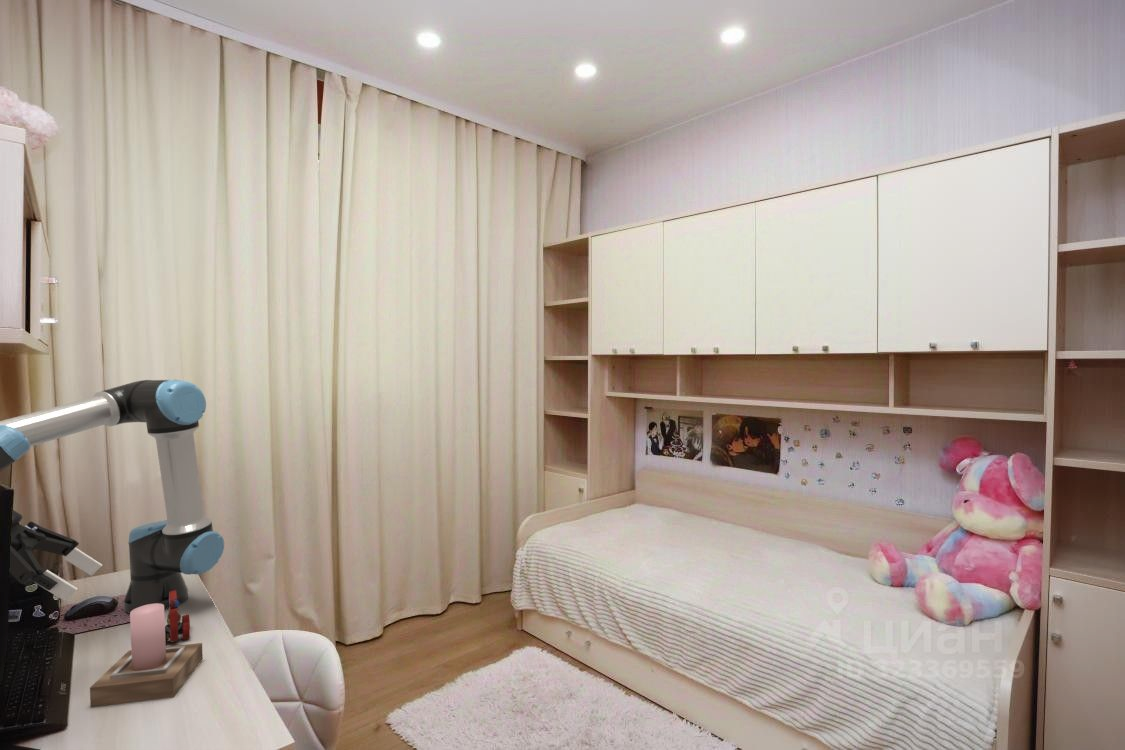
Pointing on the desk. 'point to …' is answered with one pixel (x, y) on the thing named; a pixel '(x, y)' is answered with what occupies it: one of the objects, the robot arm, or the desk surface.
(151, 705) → the desk surface
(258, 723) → the desk surface
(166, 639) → the toy fire truck
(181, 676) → the walnut base
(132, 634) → the rose cylinder
